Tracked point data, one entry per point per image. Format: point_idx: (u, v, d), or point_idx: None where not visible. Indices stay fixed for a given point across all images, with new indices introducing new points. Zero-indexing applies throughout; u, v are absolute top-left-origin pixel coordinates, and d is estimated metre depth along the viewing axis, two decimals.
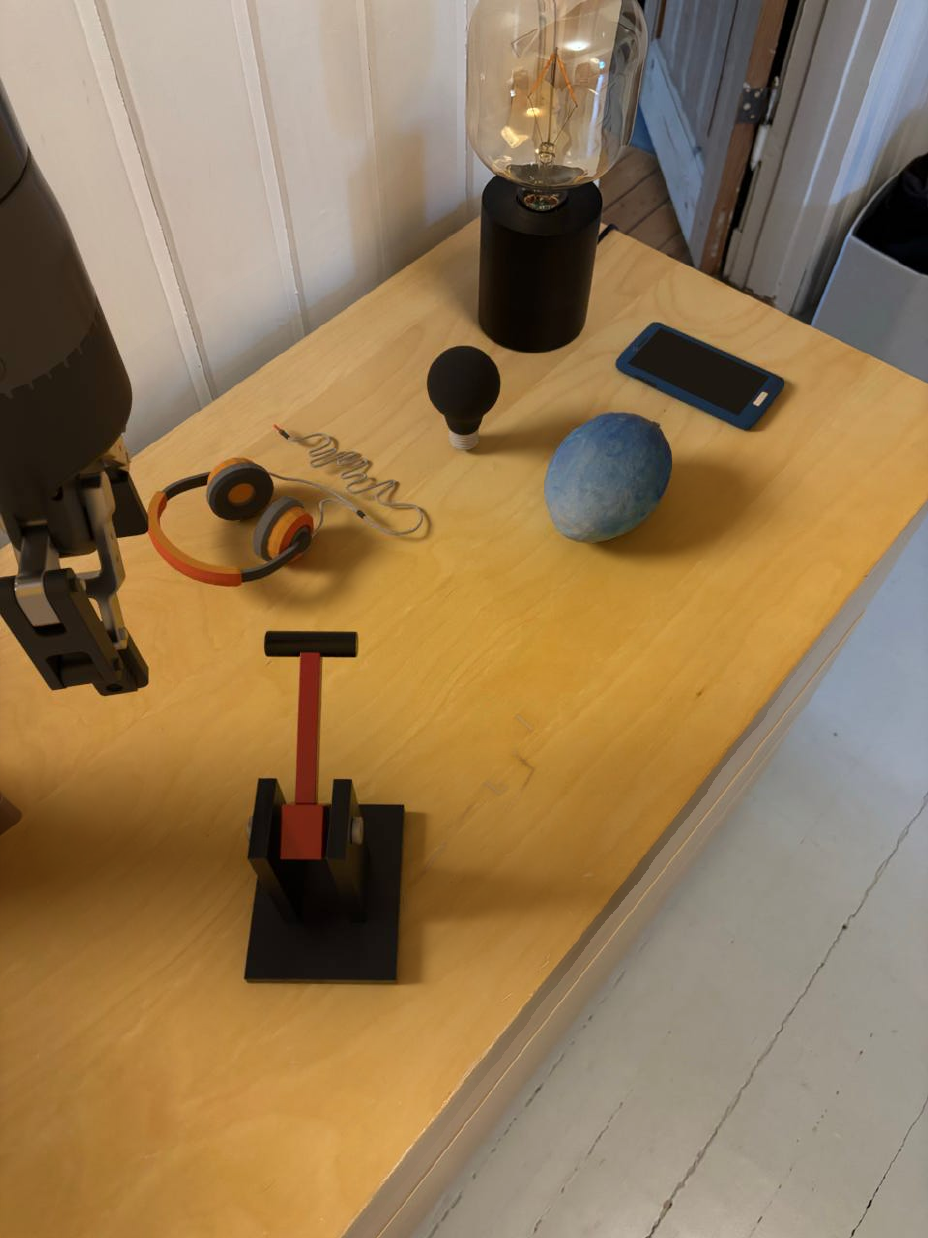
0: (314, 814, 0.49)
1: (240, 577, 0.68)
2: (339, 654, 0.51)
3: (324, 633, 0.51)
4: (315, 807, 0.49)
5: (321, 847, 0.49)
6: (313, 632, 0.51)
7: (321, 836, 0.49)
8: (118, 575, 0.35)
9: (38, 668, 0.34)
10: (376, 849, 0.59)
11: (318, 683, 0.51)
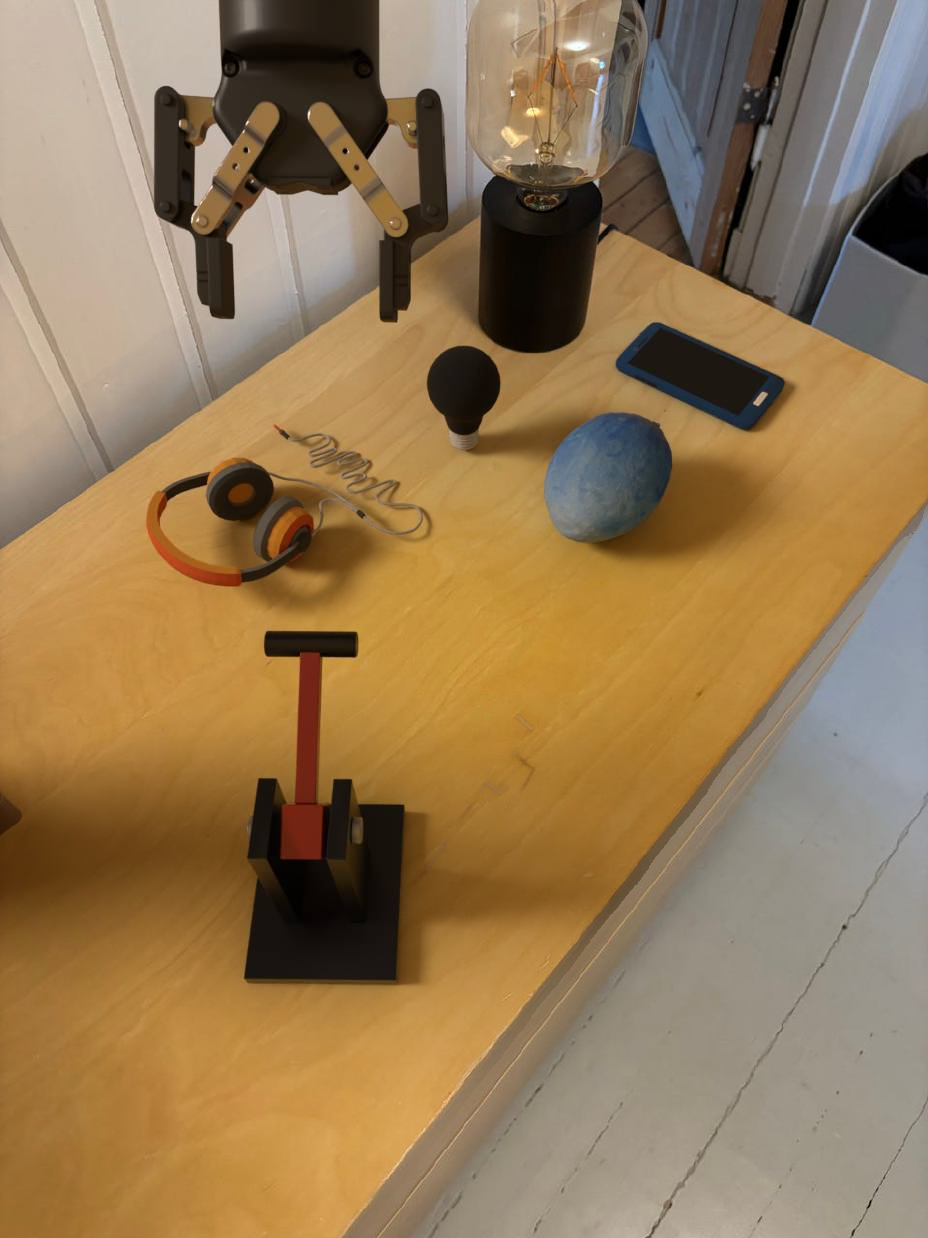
0: (314, 814, 0.49)
1: (240, 577, 0.68)
2: (339, 654, 0.51)
3: (324, 633, 0.51)
4: (315, 807, 0.49)
5: (321, 847, 0.49)
6: (313, 632, 0.51)
7: (321, 836, 0.49)
8: None
9: (444, 181, 0.45)
10: (376, 849, 0.59)
11: (318, 683, 0.51)
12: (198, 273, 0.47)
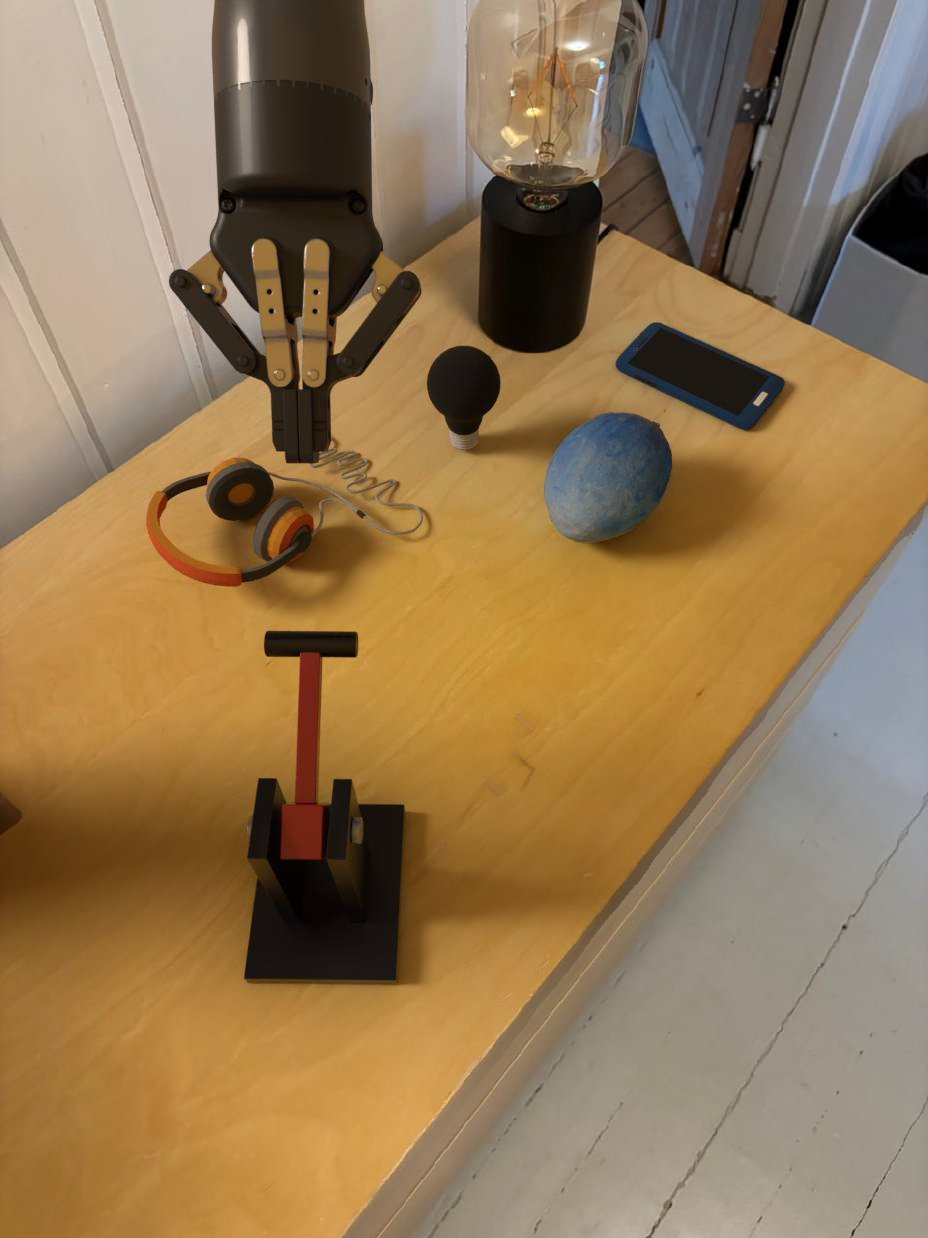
0: (314, 814, 0.49)
1: (240, 577, 0.68)
2: (339, 654, 0.51)
3: (324, 633, 0.51)
4: (315, 807, 0.49)
5: (321, 847, 0.49)
6: (313, 632, 0.51)
7: (321, 836, 0.49)
8: None
9: (373, 349, 0.47)
10: (376, 849, 0.59)
11: (318, 683, 0.51)
12: (273, 422, 0.48)
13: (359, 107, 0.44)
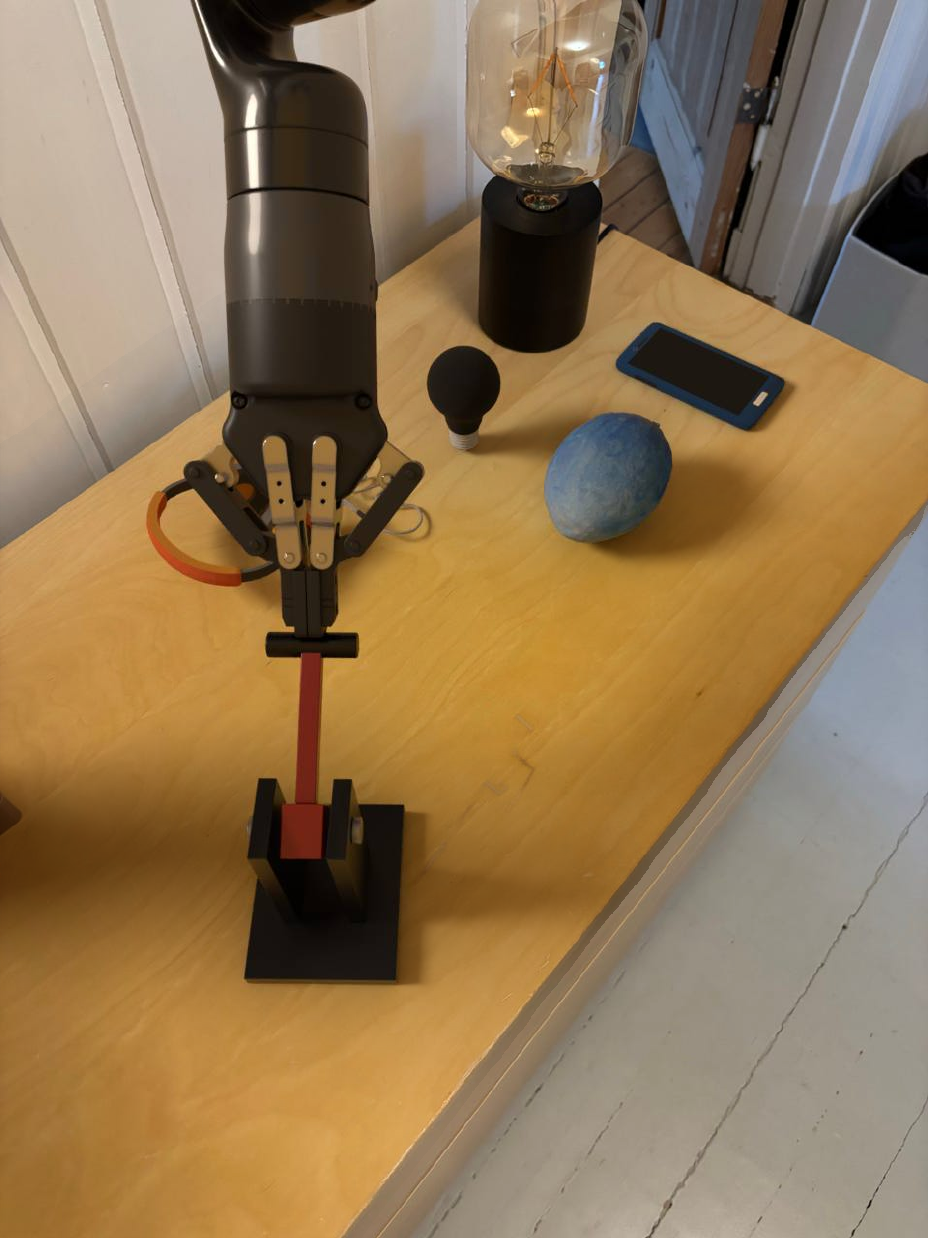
0: (314, 813, 0.49)
1: (240, 577, 0.68)
2: (339, 654, 0.51)
3: (325, 634, 0.51)
4: (315, 807, 0.49)
5: (321, 846, 0.49)
6: None
7: (321, 835, 0.49)
8: None
9: (378, 534, 0.49)
10: (376, 849, 0.59)
11: (319, 683, 0.51)
12: (283, 600, 0.50)
13: (365, 314, 0.46)
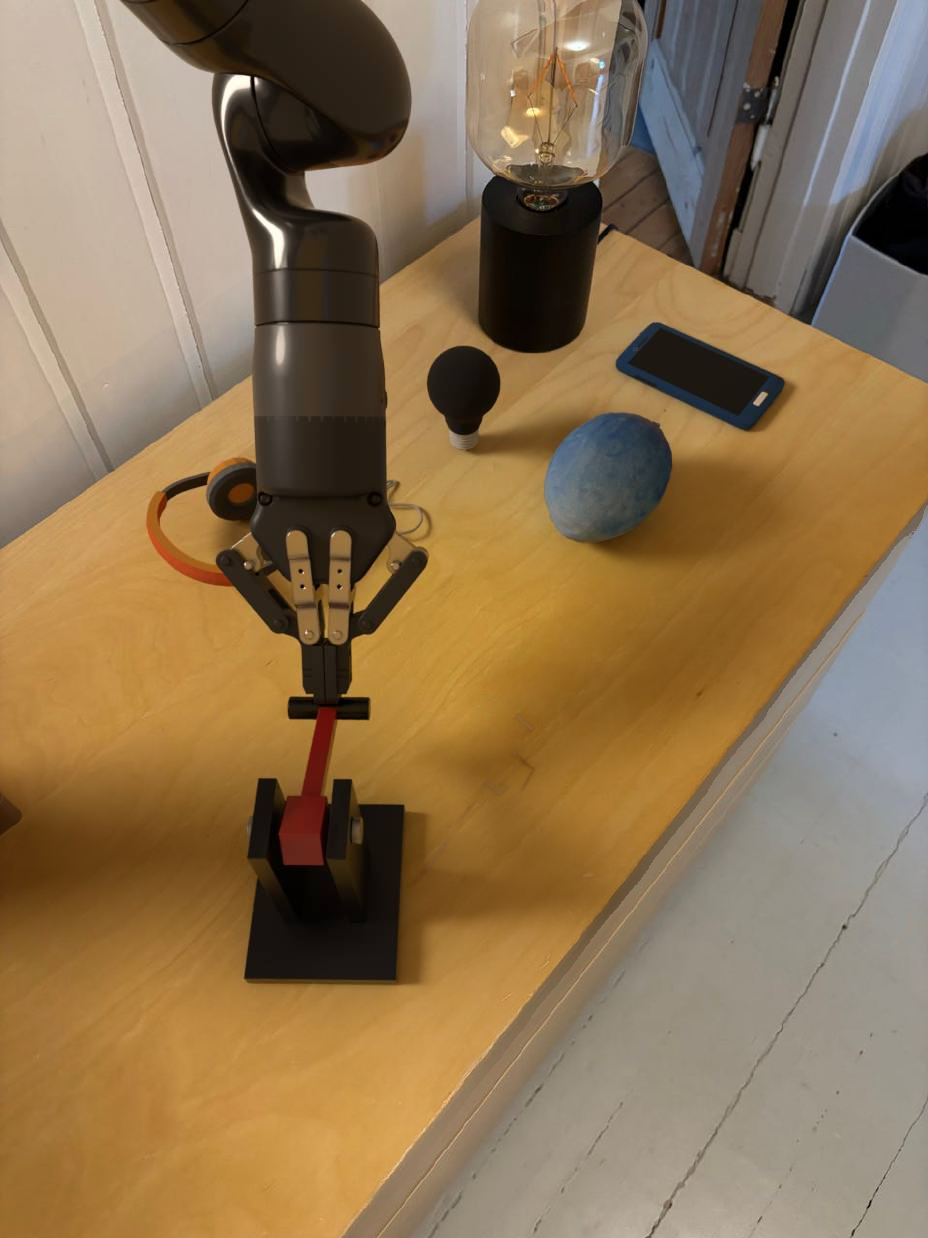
0: (318, 801, 0.50)
1: None
2: (353, 709, 0.57)
3: (342, 697, 0.58)
4: (319, 797, 0.50)
5: (321, 826, 0.49)
6: None
7: (322, 818, 0.49)
8: None
9: (388, 614, 0.55)
10: (376, 849, 0.59)
11: (332, 725, 0.56)
12: (303, 671, 0.56)
13: (376, 424, 0.52)
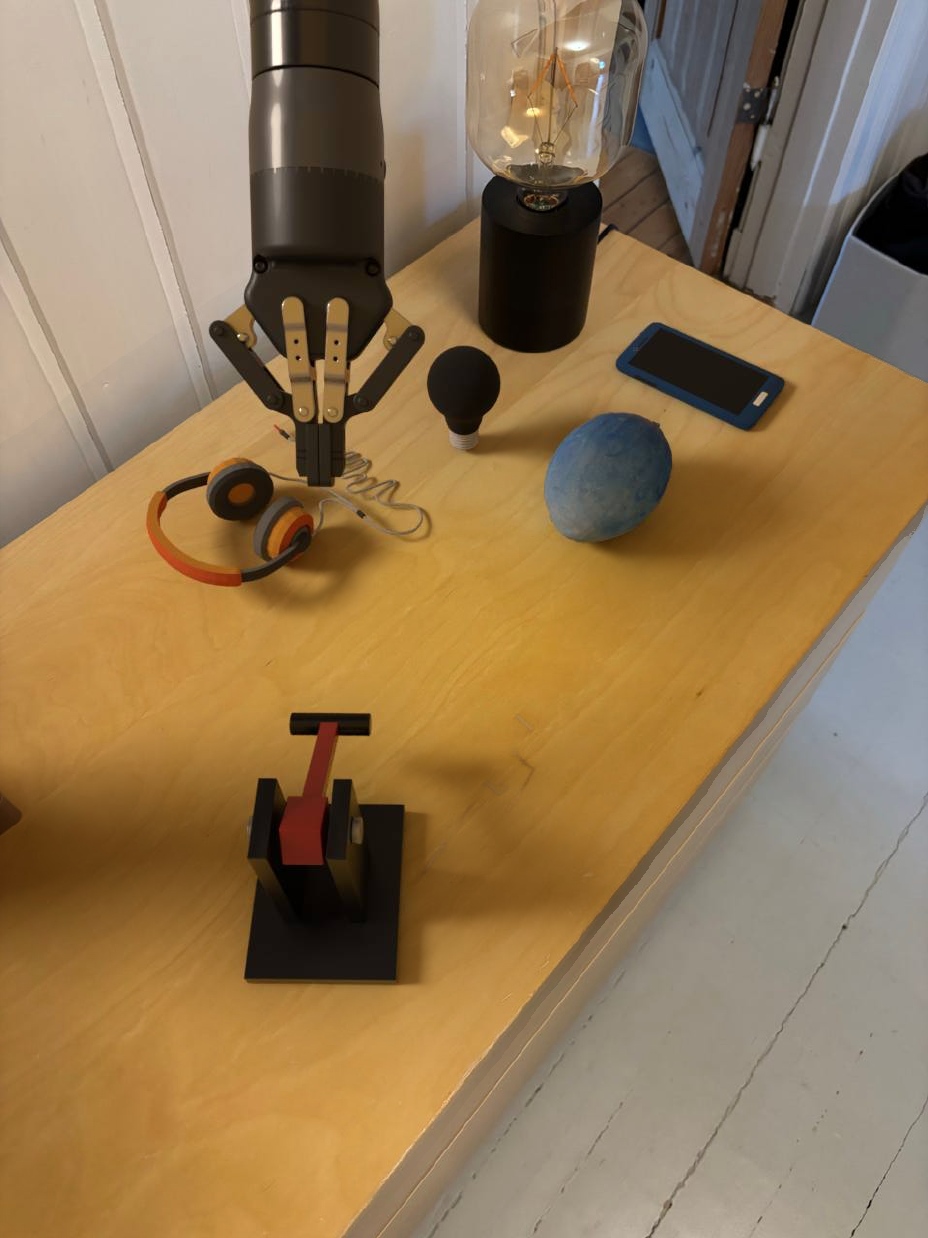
0: (318, 801, 0.50)
1: (240, 577, 0.68)
2: (354, 724, 0.58)
3: (343, 713, 0.59)
4: (320, 797, 0.51)
5: (321, 823, 0.49)
6: None
7: (323, 816, 0.49)
8: None
9: (384, 391, 0.54)
10: (376, 849, 0.59)
11: (334, 738, 0.57)
12: (297, 451, 0.55)
13: (376, 186, 0.52)
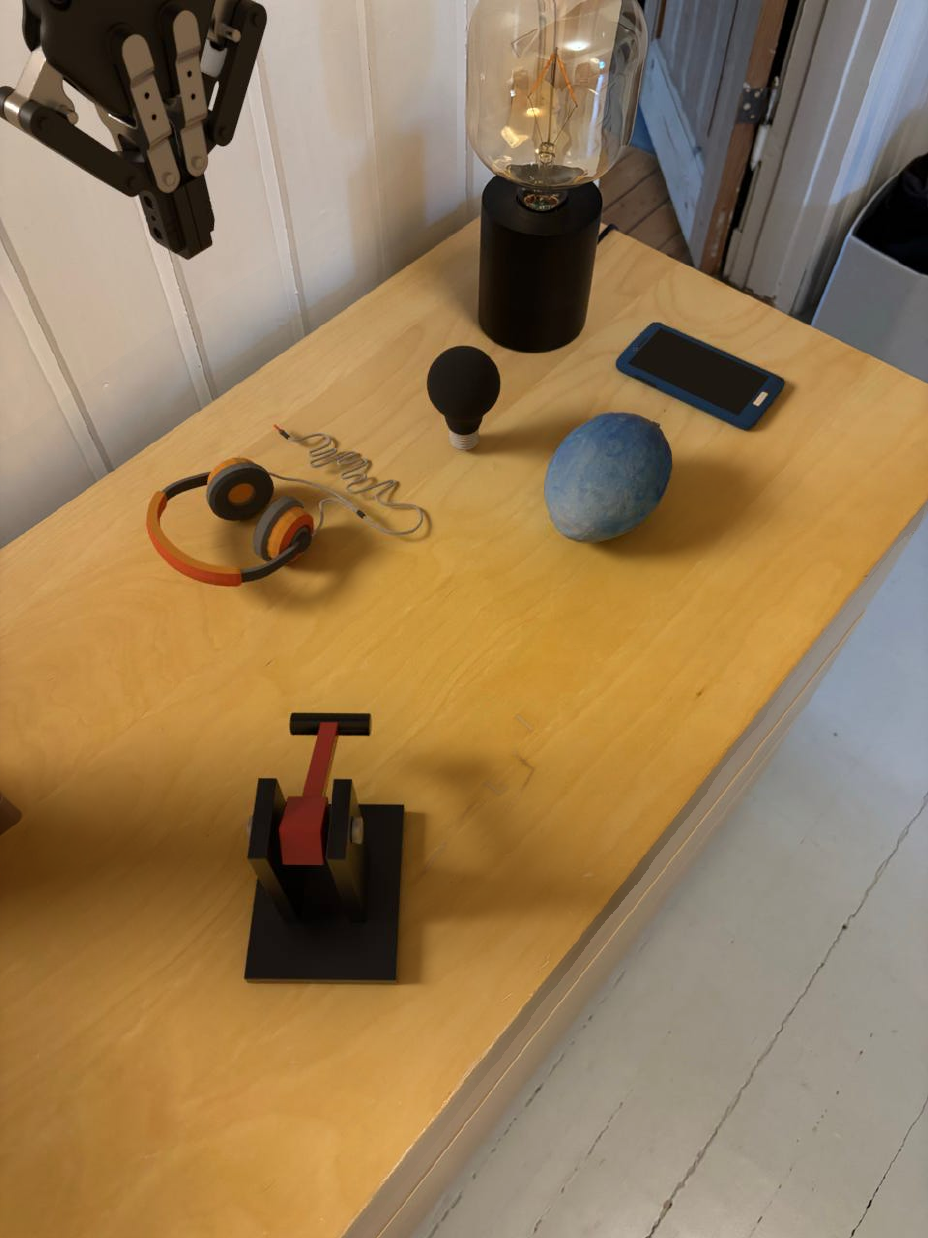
0: (318, 801, 0.50)
1: (240, 577, 0.68)
2: (354, 724, 0.58)
3: (343, 713, 0.59)
4: (320, 797, 0.51)
5: (321, 823, 0.49)
6: None
7: (323, 816, 0.49)
8: None
9: (241, 106, 0.42)
10: (376, 849, 0.59)
11: (334, 738, 0.57)
12: (166, 227, 0.43)
13: None
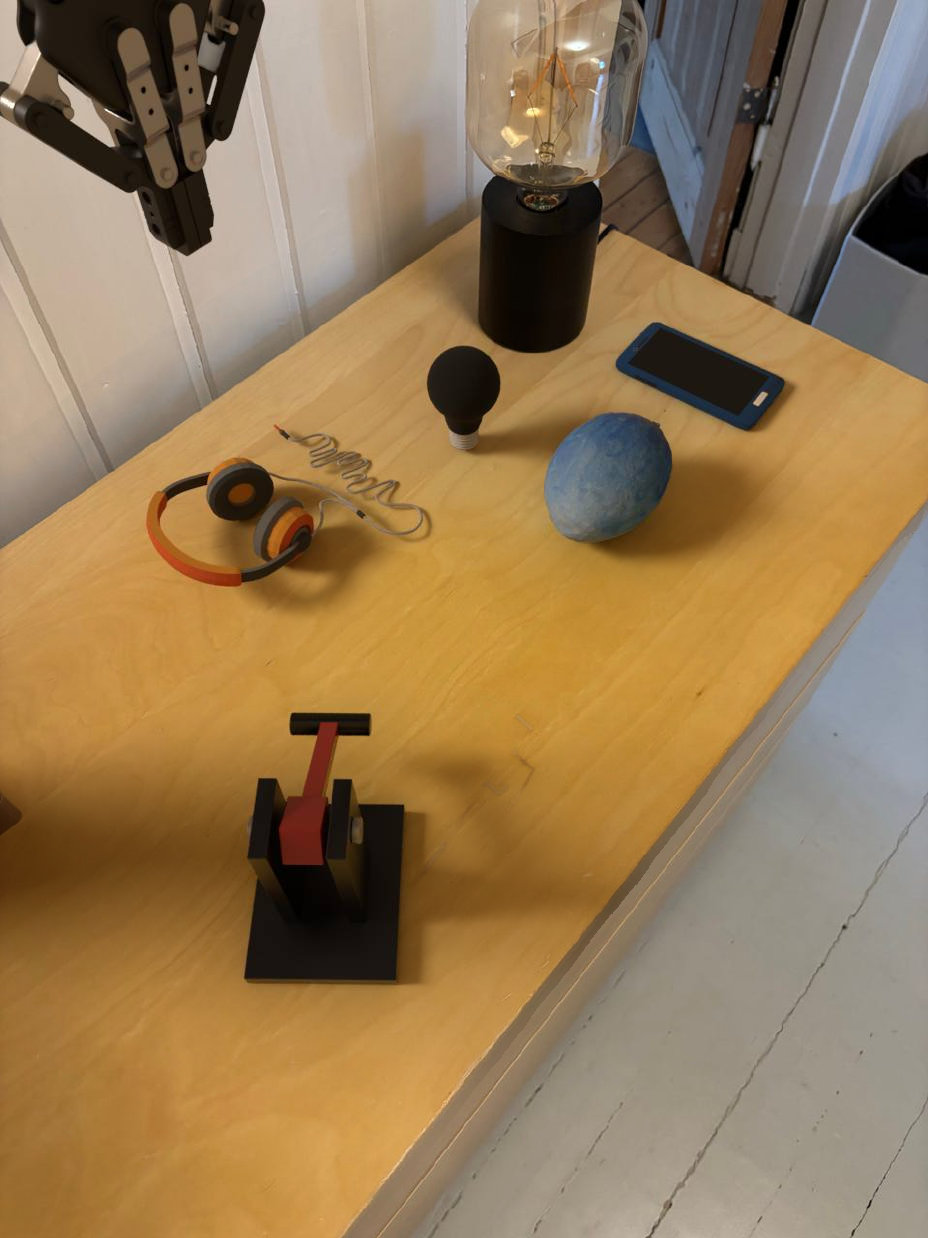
0: (318, 801, 0.50)
1: (240, 577, 0.68)
2: (354, 724, 0.58)
3: (343, 713, 0.59)
4: (320, 797, 0.51)
5: (321, 823, 0.49)
6: None
7: (323, 816, 0.49)
8: None
9: (239, 100, 0.42)
10: (376, 849, 0.59)
11: (334, 738, 0.57)
12: (165, 223, 0.43)
13: None
